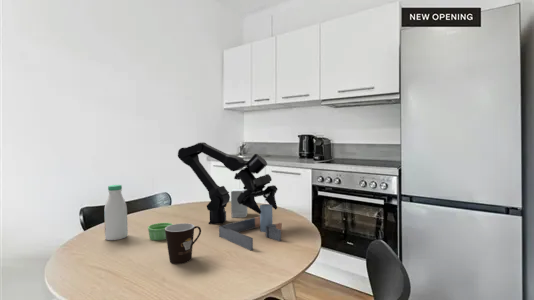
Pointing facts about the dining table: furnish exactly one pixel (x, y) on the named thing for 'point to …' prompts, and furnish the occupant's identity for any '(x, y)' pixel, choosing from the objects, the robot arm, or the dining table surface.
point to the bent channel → (242, 240)
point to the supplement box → (237, 204)
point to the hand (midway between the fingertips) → (268, 210)
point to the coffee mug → (180, 242)
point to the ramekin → (158, 231)
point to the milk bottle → (115, 214)
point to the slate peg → (265, 216)
